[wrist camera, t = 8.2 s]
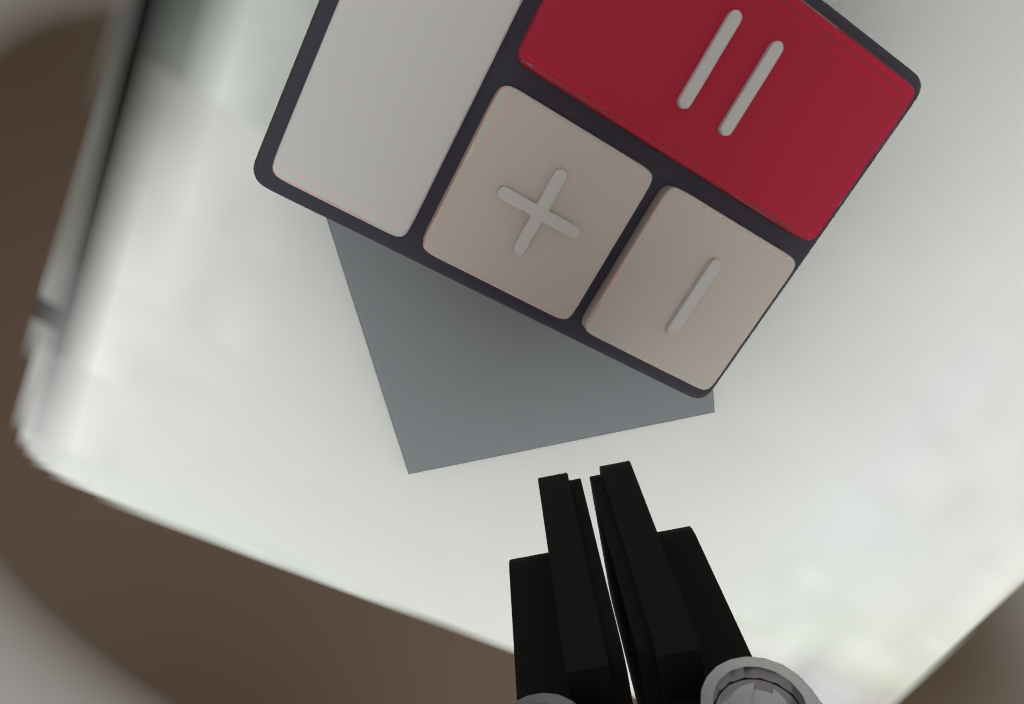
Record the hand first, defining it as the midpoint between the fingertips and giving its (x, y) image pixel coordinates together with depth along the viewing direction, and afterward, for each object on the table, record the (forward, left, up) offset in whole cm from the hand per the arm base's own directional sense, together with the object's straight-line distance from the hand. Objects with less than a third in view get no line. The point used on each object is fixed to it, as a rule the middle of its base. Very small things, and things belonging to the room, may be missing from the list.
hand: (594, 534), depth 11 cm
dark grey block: (-8, -1, -10) cm, 13 cm away
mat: (0, 0, -12) cm, 12 cm away
